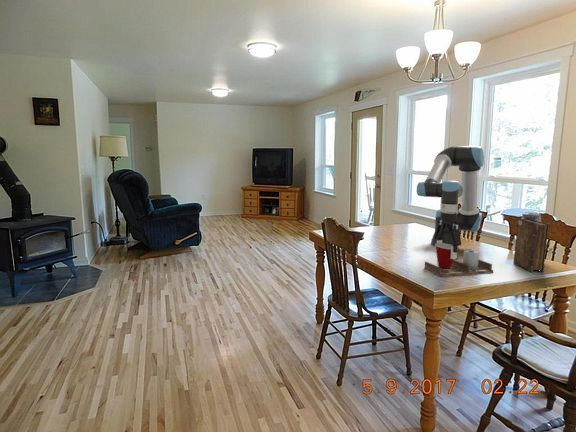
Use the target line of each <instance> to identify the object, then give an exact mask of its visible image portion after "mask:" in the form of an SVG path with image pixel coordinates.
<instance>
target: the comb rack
mask: <svg viewBox="0 0 576 432" xmlns="http://www.w3.org/2000/svg"><path fill="white" fill-rule="evenodd" d="M469 267H470V266H469V265H466V264H464V263H463V261H459V260H457V259H453V263H452V266H451V268H454V269H455V270H458V271H456V272H452V271H451V272H445V273H441V272H442V269H441V268H440V267H438V265H436V264H434V263H431V262H429V261H424V270H426V271H428V272H430V273H431V274H433V275H436V276H437V277H439V278H443V277H444V278H445V276H447V277H457V276H456V275H458V276H466V275H465V274H469V275H478V274H477V273H481V274H488V272H492V273H494V269H493V268H492V267H493V264H492V263H491V262H488V261H485V260H482V259H480V258H479V260H478V270H477V271H469ZM481 268H482V269H481ZM484 269H485V270H484Z"/></svg>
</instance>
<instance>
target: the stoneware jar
mask: <svg viewBox="0 0 576 432" xmlns="http://www.w3.org/2000/svg"><path fill="white" fill-rule="evenodd" d="M479 257H480V252H479V251H477V250H474V249H472V248H471V249H467V250H463V258H462V263H464V264H466V265H469V266H470V267H469V270H471V271H476V270H477V271H478V270H479V267H478V260H479V259H480V258H479Z"/></svg>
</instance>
